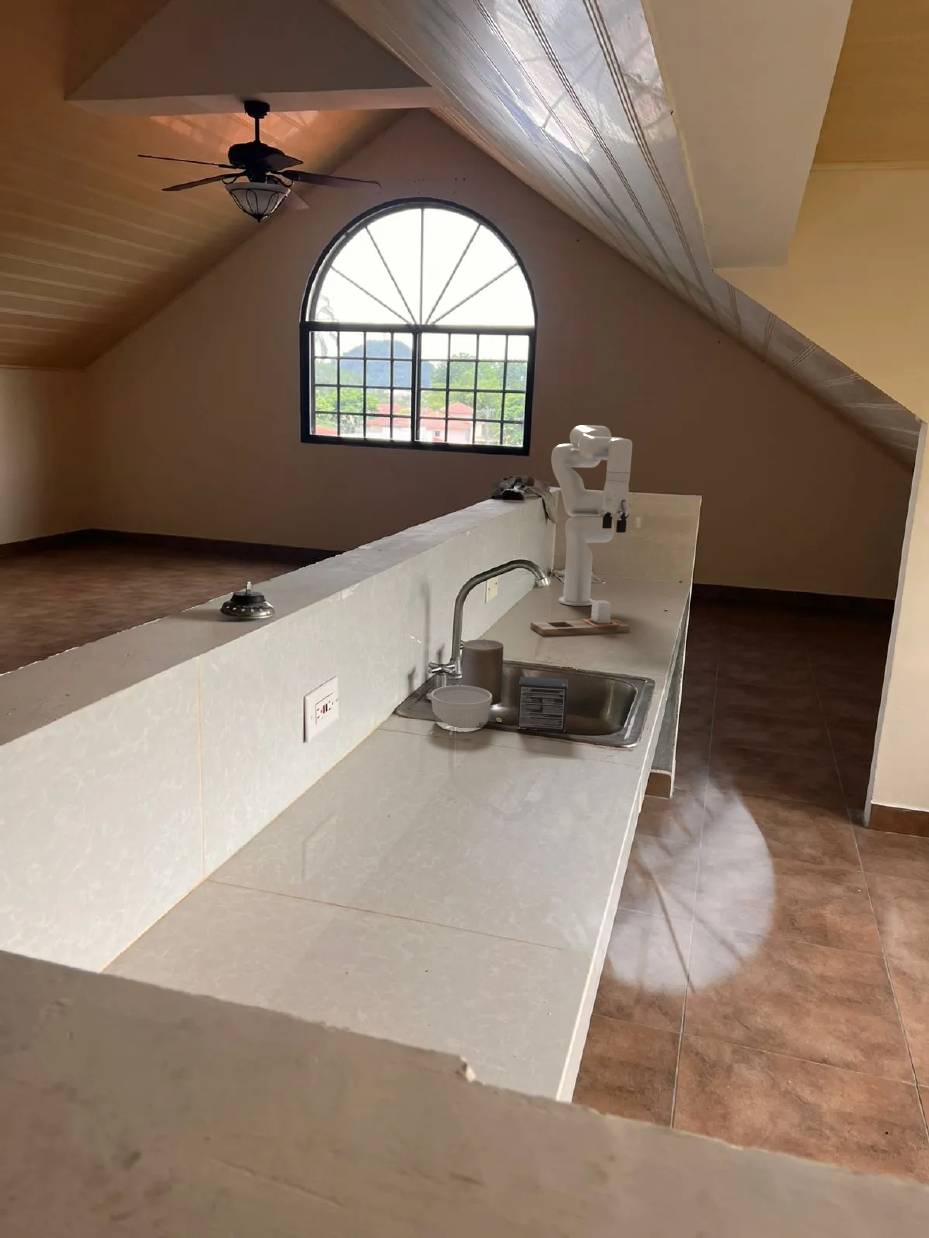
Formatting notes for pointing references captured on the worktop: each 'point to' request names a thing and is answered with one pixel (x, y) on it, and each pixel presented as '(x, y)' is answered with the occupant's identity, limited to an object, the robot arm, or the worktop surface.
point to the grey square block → (601, 612)
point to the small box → (542, 703)
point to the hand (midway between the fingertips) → (613, 530)
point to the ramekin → (461, 705)
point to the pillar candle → (483, 666)
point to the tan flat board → (578, 627)
